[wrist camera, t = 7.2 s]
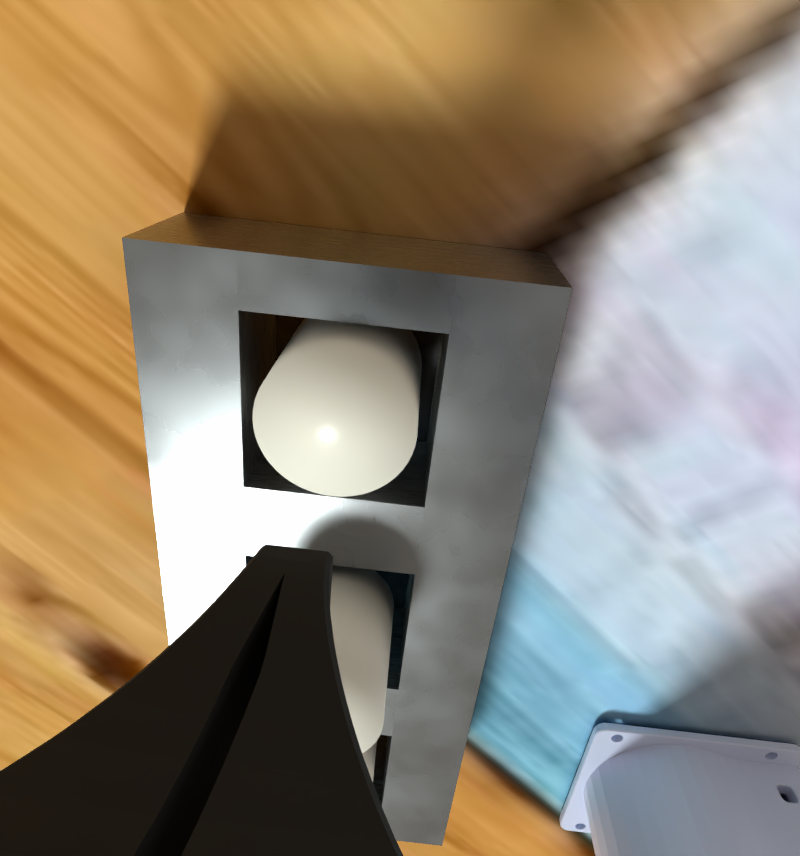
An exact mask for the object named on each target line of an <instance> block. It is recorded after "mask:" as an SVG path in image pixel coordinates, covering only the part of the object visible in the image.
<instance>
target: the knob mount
mask: <svg viewBox="0 0 800 856" xmlns="http://www.w3.org/2000/svg"><path fill="white" fill-rule="evenodd" d="M122 241H123V250H124V259H125V267H126V276H127V285H128V293H129V302H130V311H131V319H132V328H133V337H134V345H135V354H136V363H137V371H138V380H139V389H140V398H141V406H142V415H143V424H144V432H145V441H146V450H147V458H148V467H149V476H150V484H151V493H152V502H153V510H154V519H155V528H156V536H157V545H158V554H159V562H160V571H161V580H162V588H163V597H164V606H165V614H166V623H167V632H168V640H169V645H170V644H171V643H173V642H174V641H175V640H176V639H177V638H178V637H179V636H180V635H181V634H182V633H183V632H184V631H185V630H186V629H187V628H188V627H189V626H191V625H192V624H193V623H194V622H195V621H196V620H197V619H198V618H199V617H200V615H201V614H202V613H203V612H204V611H205V610H206V609H207V608H208V607H209V606H210V605H211V604H212V603H213V602H214V601H215V600H216V599H217V598H218V597H219V596H220V594H221V593H222V592H223V591H224V590H225V589H226V588H227V587H228V586H229V585H230V583H231V582H232V581H233V580H234V579H235V578H236V577H237V575H238V574H239V573H240V572H241V571H242V570H243V568H244V567H245V566H246V565H247V564H248V562H249V561H250V560H251V559H252V558H253V556H254V555H255V554H256V553H257V551H258V550H259V549H260V548H261V547H262V546H264V545H265V544H269V545H277V546H286V547H294V548H303V549H311V550H320V551H328V552H329V553H330V554H331V555H332V556H333V565H336V566H344V567H353V568H362V569H371V570H380V571H388V572H397V573H406V574H409V576H408V584H407V591H406V598H405V606H404V608H398V607H394V612H393V623H392V635H391V646H390V657H389V669H388V680H387V691H386V702H385V714H384V725H383V729H382V732H381V734H380V737H379V738H378V740H377V746H376V756H375V766H374V777H373V784H374V787H375V790H376V793H377V795H378V798H379V801H380V803H381V806H382V808H383V811H384V813H385V815H386V818H387V820H388V823H389V825H390V827H391V830H392V832H393V834H394V837H395V839H396V840H397V841H406V842H415V843H423V844H432V845H441V846H442V843H443V839H444V835H445V830H446V826H447V822H448V818H449V813H450V809H451V805H452V801H453V796H454V792H455V788H456V783H457V779H458V775H459V771H460V766H461V762H462V758H463V754H464V749H465V745H466V741H467V737H468V732H469V728H470V724H471V719H472V715H473V711H474V707H475V702H476V698H477V694H478V690H479V685H480V681H481V677H482V673H483V668H484V664H485V660H486V656H487V651H488V647H489V643H490V638H491V634H492V630H493V626H494V621H495V617H496V613H497V609H498V604H499V600H500V596H501V592H502V587H503V583H504V579H505V574H506V570H507V566H508V562H509V557H510V553H511V549H512V545H513V540H514V536H515V532H516V528H517V523H518V519H519V515H520V511H521V506H522V502H523V498H524V493H525V489H526V485H527V481H528V476H529V472H530V468H531V464H532V459H533V455H534V451H535V447H536V442H537V438H538V434H539V429H540V425H541V421H542V417H543V412H544V408H545V404H546V400H547V395H548V391H549V387H550V383H551V378H552V374H553V370H554V365H555V361H556V357H557V353H558V348H559V344H560V340H561V336H562V331H563V327H564V323H565V319H566V314H567V310H568V306H569V302H570V297H571V293H572V289H573V288H572V287H571V285H570V284H569V282H568V281H567V280H566V278H565V277H564V276H563V274H562V273H561V272H560V270H559V269H558V268H557V266H556V265H555V264H554V262H553V261H552V260H551V258H550V257H549V255H548V254H547V253H542V252H533V251H524V250H515V249H506V248H498V247H489V246H480V245H471V244H462V243H453V242H444V241H435V240H426V239H417V238H408V237H399V236H390V235H381V234H372V233H363V232H354V231H345V230H336V229H327V228H318V227H309V226H301V225H292V224H283V223H274V222H265V221H256V220H247V219H238V218H229V217H220V216H211V215H202V214H193V213H184V212H183V213H181V214H178V215H176V216H173V217H171V218H168V219H166V220H164V221H161V222H159V223H156V224H154V225H151V226H149V227H147V228H144V229H142V230H139V231H137V232H135V233H132V234H130V235H127V236H125V237H122ZM275 314H276V315H284V316H293V317H302V318H311V319H320V320H329V321H338V322H347V323H356V324H365V325H374V326H382V327H391V328H400V329H409V330H418V331H427V332H436V333H442V334H441V342H440V349H439V356H438V364H437V371H436V378H435V386H434V393H433V400H432V408H431V415H430V422H429V430H428V437H427V442H426V441H416V445H415V449H414V451H413V454H412V456H411V458H410V460H409V462H408V464H407V465H406V466H405V468H404V469H403V470H402V471H401V472H400V473H399V474H398V475H397V476H396V477H395V478H394V479H393V480H392V481H390V482H389V483H388V484H386V485H384V486H382V487H381V488H379V489H376V490H374V491H372V492H369V493H365V494H362V495H356V496H346V497H337V496H327V495H321V494H318V493H314V492H311V491H308V490H306V489H303V488H301V487H299V486H297V485H295V484H293V483H292V482H290V481H289V480H287V479H286V478H284V477H283V476H282V475H281V474H280V473H279V472H277V471H276V470H275V469H274V467H273V466H272V465H271V464H270V463H269V462H268V460H267V459H266V458H265V456H264V455H263V453H262V451H261V449H260V447H259V445H258V443H257V440H256V437H255V433H254V429H253V419H252V417H253V406H254V401H255V398H256V395H257V393H258V390H259V388H260V387H261V385H262V383H263V381H264V380H265V378H266V377H267V375H268V373H269V372H270V370H271V369H272V367H273V366H274V364H275Z"/></svg>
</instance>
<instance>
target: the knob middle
mask: <svg viewBox="0 0 800 856" xmlns="http://www.w3.org/2000/svg"><path fill="white" fill-rule="evenodd" d="M393 612H394V601H393V596H392V593H391V590H390V588H389V586H388V585H387V583H386V582H385V580H384V579H383V578H382V577H381V576H380V575H379V574H378V573H377V572H376V571H374V570H371V569H362V568H353V567H344V566H336V565H333V569H332V585H331V600H330V613H331V621H332V629H333V637H334V644H335V650H336V656H337V661H338V666H339V671H340V675H341V680H342V684H343V689H344V693H345V697H346V701H347V705H348V708H349V712H350V715H351V719H352V723H353V726H354V729H355V733H356V736H357V739H358V742H359V745H360V748H361V752H362V753H364V752H365V751H367V750H368V749H369V748H371V747H372V746H373V745H374V744H375V742H376V741H377V740H378V738H379V737H380V734H381V732H382V729H383V725H384V714H385V702H386V691H387V680H388V669H389V657H390V646H391V635H392V623H393Z"/></svg>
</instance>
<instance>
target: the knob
mask: <svg viewBox="0 0 800 856" xmlns="http://www.w3.org/2000/svg"><path fill="white" fill-rule="evenodd" d="M421 370H422V360H421V353H420V348H419V345H418V343H417V340H416V338H415V336H414V334H413V332H412V331H411V330H409V329H400V328H391V327H382V326H374V325H365V324H356V323H347V322H338V321H329V320H320V319H311V318H305V319H304V320H303V321H302V322H301V324H300V325H299V326H298V328H297V329H296V331H295V333H294V334H293V336H292V337H291V339H290V340H289V342H288V344H287V345H286V347H285V348H284V350H283V351H282V353H281V355H280V356H279V358H278V359H277V361H276V362H275V364H274V366H273V367H272V369H271V370H270V372H269V373H268V375H267V377H266V378H265V380H264V381H263V383H262V385H261V387H260V388H259V390H258V393H257V395H256V398H255V401H254V406H253V417H252V419H253V429H254V433H255V437H256V440H257V443H258V445H259V447H260V449H261V451H262V453H263V455H264V456H265V458H266V459H267V460H268V462H269V463H270V464H271V465H272V466H273V467H274V469H275V470H276V471H277V472H279V473H280V474H281V475H282V476H283V477H284V478H286V479H287V480H289V481H290V482H292V483H293V484H295V485H297V486H299V487H301V488H303V489H306V490H308V491H311V492H314V493H318V494H321V495H327V496H337V497H346V496H356V495H362V494H365V493H369V492H372V491H374V490H376V489H379V488H381V487H382V486H384V485H386V484H388V483H389V482H390V481H392V480H393V479H394V478H395V477H396V476H397V475H398V474H399V473H400V472H401V471H402V470H403V469H404V468H405V466H406V465H407V464H408V462H409V460H410V458H411V456H412V454H413V451H414V449H415V445H416V441H417V433H418V417H419V401H420V386H421Z"/></svg>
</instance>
